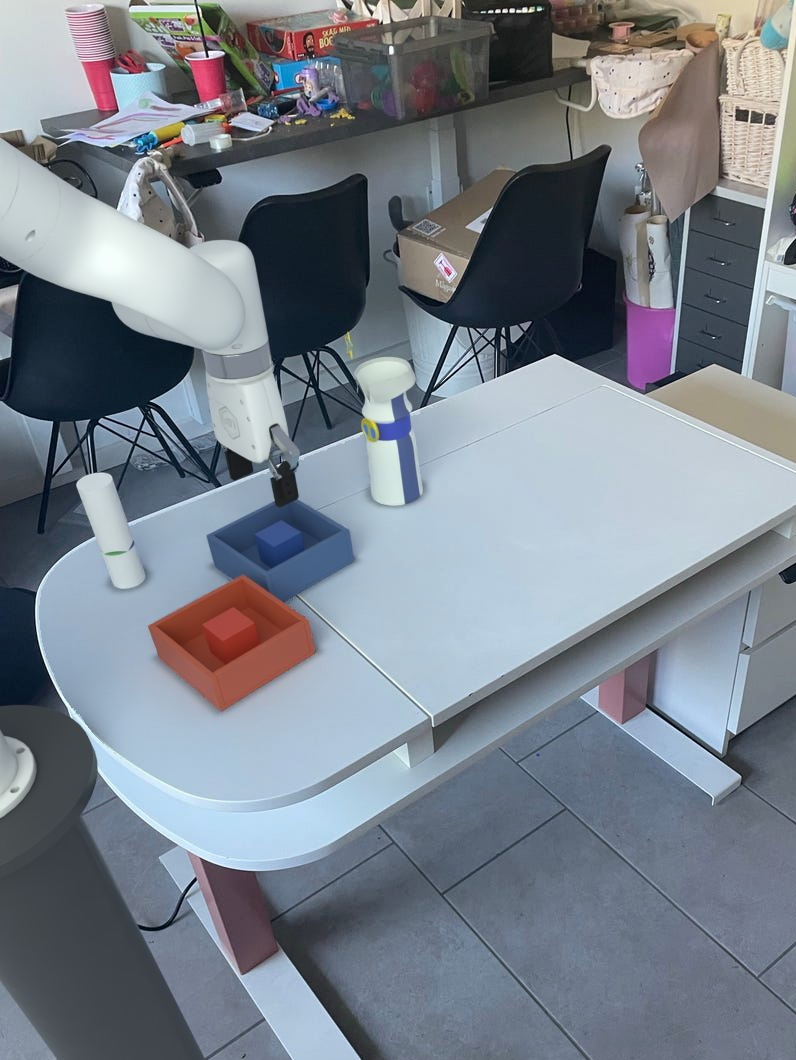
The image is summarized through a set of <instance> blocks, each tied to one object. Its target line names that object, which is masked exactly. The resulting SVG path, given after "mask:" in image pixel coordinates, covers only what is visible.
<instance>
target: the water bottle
mask: <svg viewBox="0 0 796 1060" xmlns="http://www.w3.org/2000/svg"><path fill="white" fill-rule="evenodd" d="M344 340H345V343H346V354H348V355H349V356H350V358H351V360H353V359H354V358H353V348H354V345H353V343H352V341H351V337H350V332H349V331H347V333H346V336H344ZM353 377H354V380H355V383H356V387H357V388H356V393H357V394H358V392H359V387H360V388H361V390H362V393H363V395H364V403H363V406H362V408H361V415H363V418H362V420H361V422H360V427H361V431H362V433H363V435H364V437H365V447H366V453H367V454H366V455H367V463H368V464H367V465H368V472H369V484H370V485H369V486H370V496H371V498H372V500H373V501H375V502H376V503H378V504H381V505H384V506H390V507H393V506H394V507H395V506H397V507H398V506H404V505H407V504H410V503H413V502H415V501H416V500H418V499H419V498H420V497H421V496H422V494H423V493H424V487H423V481H422V475H421V469H420V462H419V454H418V443H417V439H416V434H415V431H414V428H413V427H412V421H411V412H412V410H413V404H412V402H411V401H409V399H408V396H407V391H408V390H410V389H412V388H413V386H414V385H415V383H416V381H417V378H416V374H415V372H414V370H413V368H412V365H411V364H410V362H408V360H406V359H404V358H402V357H401V358H400V357H395V356H383V357H381V356H380V357H376V358H373V359H368V360H367V361H364V362H363V363H360V364H359V365H357V367H356V369H355V370H354V372H353ZM358 386H359V387H358Z"/></svg>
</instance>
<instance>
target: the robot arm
mask: <svg viewBox="0 0 796 1060" xmlns="http://www.w3.org/2000/svg"><path fill="white" fill-rule="evenodd" d="M0 258H2V259H4V260H6V261H8V262H9V263H11V264H12V265H15V267H16V266H17V267H18V268H20V269H22V270H24V271H25V272H27V273H29V274H31V275H33V276H35V277H37V278H39V279H42V280H44V281H47V282H49V283H51V284H54V285H57V286H59V287H62V288H64V289H68V290H71V291H73V292H77V293H80V294H83V295H84V294H85V295H87V296H91V297H94V298H98V299H102V300H105V301H108V302H111V306H112V308H113V311H114V312H115V315H116V316H117V317H118V319H119V320H120V321H121V322H122V323H123V324H124V325H125V326H127V327H129V329H131V330H133V331H135V332H138V333H140V334H143V335H146V336H150V337H154V338H158V339H162V340H165V341H170V342H174V343H178V344H181V345H185V346H189V347H192V348H196V349H199V350H201V352H202V353H201V354H202V357H203V361H204V366H205V383H206V384H205V385H206V394H207V400H208V407H209V409H208V412H209V415H210V418H211V423H212V429H213V434H214V436H215V439H216V440H217V441H218V442H219V443H220V447H221V449H222V450H223V451H224V456H225V460H226V465H227V469H228V473H229V478H230V480H232V481H237V480H239V479H242V478H244V477H247V476H249V475H251V474H253V473H254V466H253V463H254V464H255V463H256V464H263V462H264V463H265V464H266V466H267V468H268V470H269V472H270V474H271V475H272V476H271V477H270V479H269V480H270V484H271V485H270V486H271V491H272V493H273V494H272V496H273V500H274V501H275V505H276V506H277V507H279V508H280V507H283V506H285V505H287V504H289V503H291V502H293V501H295V500H297V499H298V500H299V497H300V494H299V489H298V483H297V477H296V472H297V471H298V467H299V465H300V463H299V461H300V456H301V451H300V449H299V448H298V446H297V445H296V444H295V443H294V442H293V441H292V439H291V438H290V434H289V433H290V432H289V427H288V422H287V418H286V414H285V410H284V404H283V401H282V398H281V394H280V390H279V387H278V384H277V381H276V378H275V375H274V372H273V370H274V362H273V357H272V352H271V345H270V340H269V335H268V328H267V323H266V318H265V312H264V306H263V301H262V300H263V299H262V294H261V290H260V284H259V279H258V272H257V267H256V262H255V258H254V255H253V253H252V250H251V249H250V248H249V246H247V245H246V244H244V243H243V242H240V241H236V240H230V239H213V240H207V241H204V242H201V243H198V244H194V245H192V246H191V247H189V248H188V247H186V246H185V245H184V244H182V243H180V242H178V241H176V240H174V239H173V238H172V237H169V236H168V235H165V234H163V233H162V232H159V231H158V230H155V229H154V228H152V227H150V226H148V225H146V224H144V223H141V222H140V221H138V220H136V219H134V218H132V217H131V216H129V215H127V214H125V213H123V212H121V211H120V210H119V209H117V208H115V207H113V206H111V205H109V204H107V203H105V202H104V201H101V200H99V199H97V198H96V197H93V196H91V195H89V194H87V193H85V192H83V191H81V190H80V189H78V188H77V187H75V186H73V185H72V184H71V183H68V182H67V181H65V180H64V179H63V178H61V177H59V176H58V175H57V174H55V173H54V172H52V171H51V170H49V169H47V168H46V167H44V166H43V165H42V164H40V163H39V162H37V161H36V160H34V159H33V158H31V157H29V156H28V155H27V154H25V153H24V152H23V151H21V150H19V149H18V148H17V147H15V146H13V145H12V144H10V143H9V142H7V141H6V140H5V139H3V138H2V137H0ZM271 448H275V450H273V451H271ZM278 457H280V458H281V459H282V462H281V463H280V464H279V465H277V464H276V462H275V460H274V459H276V458H278ZM274 501H273V502H274ZM36 773H37V766H36V761H35V758H34V756H33V754H32V752H31V751H30V749H29V748H28V747H27V746H26V745H25V744H24V743H23V742H21V741H19V740H17V739H14V738H11V737H7V736H3V734H2V732H1V730H0V818H2V817H3V816H5V815H6V814H7V813H9V812H10V811H11V810H12V809H14V808H15V807H16V806H17V805H18V804H19V803H20V802H21V801H22V800H23V799H24V797H25V796H26V795H27V793H28V792H29V790H30V789H31V787H32V785H33V783H34V780H35V777H36Z"/></svg>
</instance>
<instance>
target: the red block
mask: <svg viewBox="0 0 796 1060" xmlns="http://www.w3.org/2000/svg"><path fill="white" fill-rule="evenodd" d="M202 626H203V629H204V633H205V636H206V639H207V642H208V646H209V649H210V652H211V653H212V654H213V655H214V656H216V657H217V658H218V659H219V660H220V661H222V662H223V663H224V664H225V665H226V664H228V663H230V662H231V661H233V660H235V659H237V658H238V657H240V656H242V655H243V654H245V653H247V652H248V651H250V650H252V649H253V648H255V647H257V646H258V645H260V642H259V638H258V634H257V630H256V626H255V623H254V622H253V621H252V620H250V619H249V618H248V617H246V616H245V615H244V614H242V613H241V612H240V611H238V610H237V609H235V608H234V607H233V608H231V609H229V610H227V611H225V612H224V613H222V614H220V615H218V616H216V617H215V618H213V619H211V620H209V621H207V622H206V623H204V624H202Z"/></svg>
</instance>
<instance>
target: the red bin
mask: <svg viewBox="0 0 796 1060" xmlns="http://www.w3.org/2000/svg"><path fill="white" fill-rule="evenodd" d="M233 607H234V608H235V609H237V610H238V611H240V612H241V613H242V614H244V615H245V616H246V617H248V618H249V619H250V620H252V621H253V622H254V623H255V626H256V630H257V634H258V638H259V642H260V645H258V646H257V647H255V648H253V649H252V650H250V651H248V652H247V653H245V654H243V655H242V656H240V657H238V658H237V659H235V660H233V661H231V662H230V663H228V664H226V665H225V664H224V663H223V662H222V661H220V660H219V659H218V658H217V657H216V656H214V655H213V654H212V653H211V652H210V649H209V646H208V642H207V639H206V636H205V633H204V629H203V626H202V624H204V623H206V622H207V621H209V620H211V619H213V618H215V617H216V616H218V615H220V614H222V613H224V612H225V611H227V610H229V609H231V608H233ZM147 628H148V631H149V634H150V636H151V640H152V642H153V645H154V648H155V651H156V654H157V657H158V659H159V660H161V662H163V663H164V664H165V665H166V666H168V667H169V668H170V669H171V670H172V671H173V672H174V673H176V674H177V675H178V676H179V677H181V679H182V680H183V681H185V682H186V683H187V684H188V685H190V686H191V687H192V688H193V689H194V690H195V691H197V692H198V693H199V694H200V695H201V696H202V697H203V698H205V699H206V700H207V701H208V702H210V704H211V705H213V706H214V707H215V708H216V709H217V710H219V712H223V711H225V710H226V709H228V708H229V707H231V706H232V705H234V704H236V703H238V702H239V701H241V700H243V699H244V698H245V697H247V696H248V695H250V694H252V693H254V692H255V691H256V690H258V689H260V688H261V687H263V686H264V685H266V684H268V683H270V682H271V681H273V680H274V679H276V678H277V677H279V676H281V675H282V674H284V673H286V672H287V671H288V670H289V671H290V669H292V668H294V667H295V666H297V665H299V664H300V663H302V662H303V661H306V660H307V659H308V658H310V657H311V656H313V655H315V654H316V653H317V652H316V648H315V643H314V638H313V634H312V629H311V624H310V620H309V619H308V618H307V617H305V616H304V615H302V614H301V613H300V612H298V611H296V610H295V609H294V608H292V607H291V606H290V605H288V604H287V603H285V601H284V602H282V601H281V600H279V599H278V598H277V597H275V596H274V595H272V594H271V593H269V592H268V591H266V590H265V589H264V588H262V587H261V586H259V585H258V584H256V583H255V582H254V581H252V580H251V579H249V578H248V577H246V576H245V575H241V576H239V577H237V578H235V579H234V580H233V579H232V580H230V581H228V582H225V583H224V584H223V585H220V586H218V587H217V588H215V589H213V590H211V591H210V592H208V593H206V594H204V595H202V596H200V597H199V598H196V599H195V600H192V601H191V602H189V603H187V604H186V605H183V606H182V607H180V608H178V609H176V610H175V611H173V612H171V613H168V614H167V615H165V616H163V617H161V618H159V619H158V620H155V621H154V622H152V623H151V624H149V625H147Z"/></svg>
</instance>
